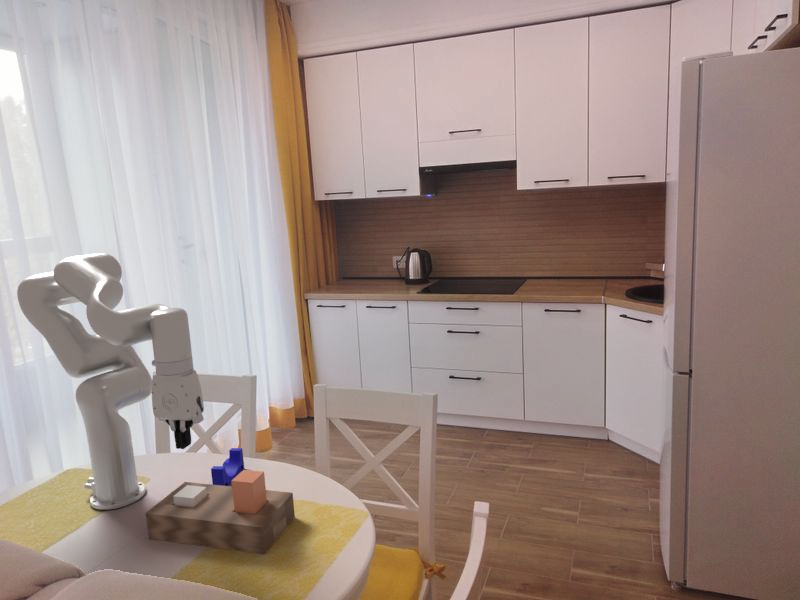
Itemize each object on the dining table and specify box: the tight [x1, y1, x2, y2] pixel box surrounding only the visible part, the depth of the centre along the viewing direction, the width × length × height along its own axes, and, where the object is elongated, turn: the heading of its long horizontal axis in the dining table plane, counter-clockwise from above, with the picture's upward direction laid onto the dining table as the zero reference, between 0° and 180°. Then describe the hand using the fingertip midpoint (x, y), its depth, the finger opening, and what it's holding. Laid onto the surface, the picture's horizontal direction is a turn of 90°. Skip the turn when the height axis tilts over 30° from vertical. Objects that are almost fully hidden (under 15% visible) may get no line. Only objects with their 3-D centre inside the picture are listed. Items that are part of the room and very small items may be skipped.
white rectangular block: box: [173, 485, 207, 508], centre depth 132 cm, size 5×5×8 cm
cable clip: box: [210, 447, 245, 486], centre depth 153 cm, size 12×4×6 cm, turn 171°
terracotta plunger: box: [231, 469, 267, 515], centre depth 127 cm, size 5×5×8 cm
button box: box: [144, 481, 296, 555], centre depth 130 cm, size 28×14×6 cm, turn 74°
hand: (183, 446), depth 129 cm, fingers closed
